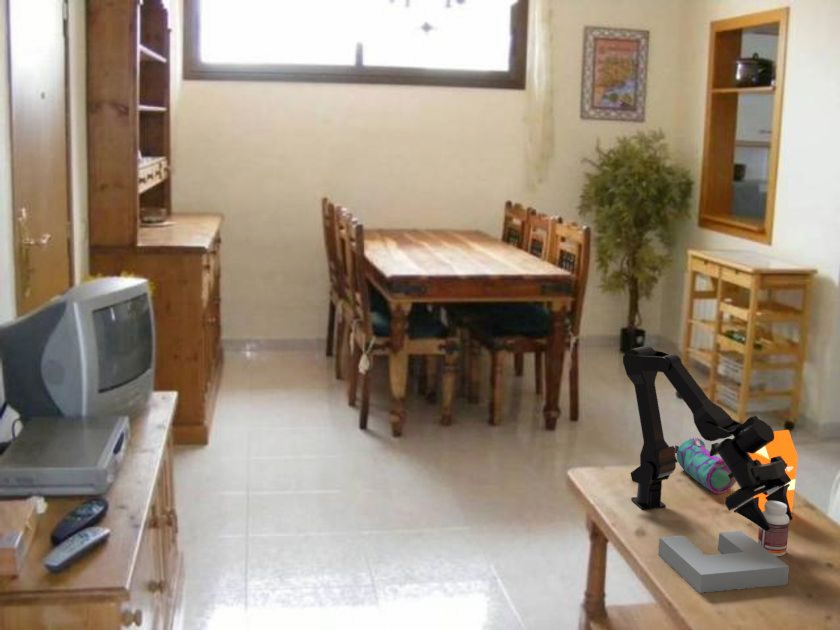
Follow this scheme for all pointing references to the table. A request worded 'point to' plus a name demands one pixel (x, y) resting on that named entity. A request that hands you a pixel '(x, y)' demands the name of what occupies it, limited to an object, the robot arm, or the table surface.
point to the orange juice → (786, 450)
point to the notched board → (724, 563)
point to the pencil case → (704, 466)
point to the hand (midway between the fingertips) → (779, 524)
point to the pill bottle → (775, 528)
